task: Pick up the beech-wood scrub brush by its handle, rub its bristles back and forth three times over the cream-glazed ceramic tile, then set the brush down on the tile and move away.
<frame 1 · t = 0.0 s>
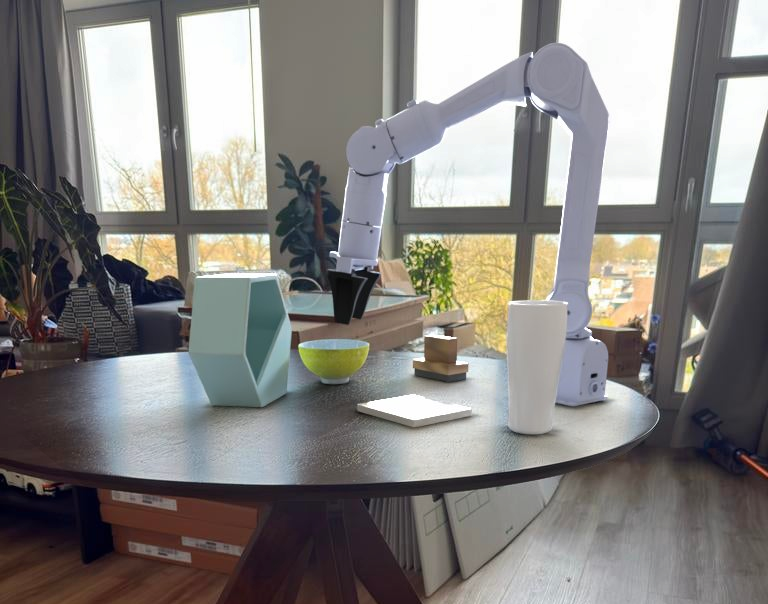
hand: (348, 320, 108), 11 cm above the table, tool pointing down, fingers open, 7 cm apart
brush: (439, 377, 122), on the table
bowl: (335, 383, 119), on the table
planter: (248, 401, 106), on the table
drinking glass: (529, 431, 88), on the table
tile: (413, 413, 97), on the table
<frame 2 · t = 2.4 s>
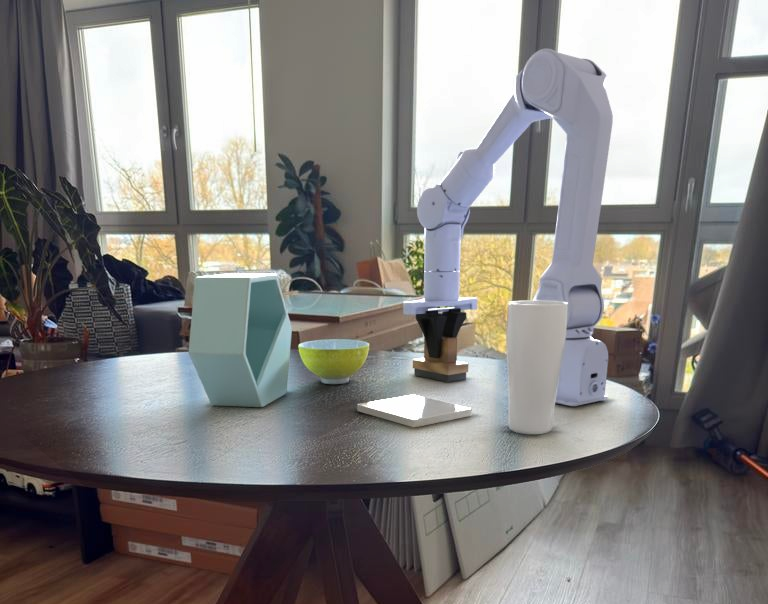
hand: (440, 356, 121), 3 cm above the table, tool pointing down, fingers closed on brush, 2 cm apart
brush: (439, 377, 122), on the table, touching gripper
everything else where it was.
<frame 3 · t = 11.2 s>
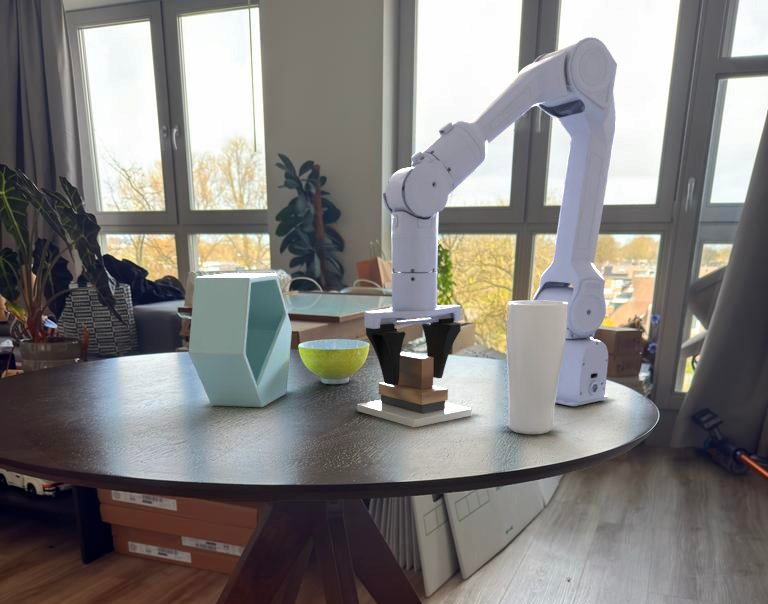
hand: (413, 380, 95), 4 cm above the table, tool pointing down, fingers open, 7 cm apart
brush: (412, 405, 97), point 1 cm above the table, touching tile
everything else where it was.
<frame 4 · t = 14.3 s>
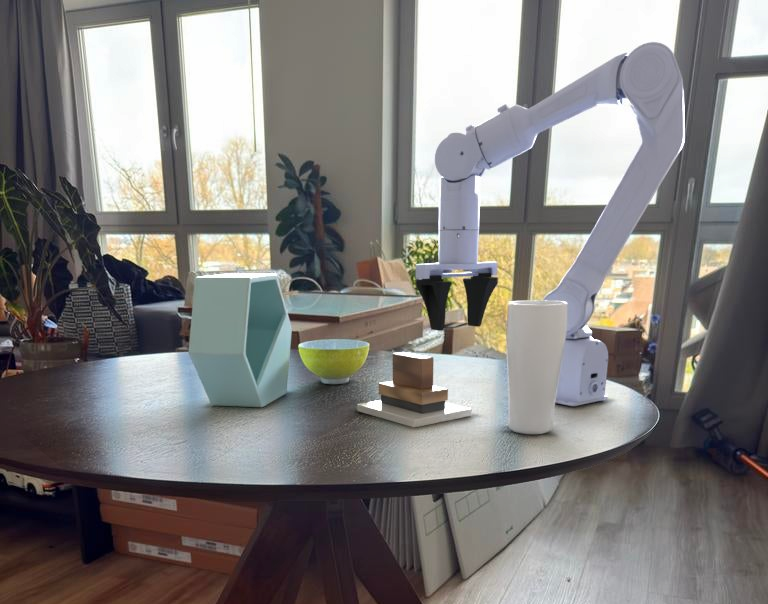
hand: (456, 328, 108), 9 cm above the table, tool pointing down, fingers open, 7 cm apart
nothing on the table moved.
at the end: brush moved 27.6 cm from its start; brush inside the target area on the tile (0.2 cm from its centre), point 1.0 cm above the tile's base; the gripper is holding nothing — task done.
